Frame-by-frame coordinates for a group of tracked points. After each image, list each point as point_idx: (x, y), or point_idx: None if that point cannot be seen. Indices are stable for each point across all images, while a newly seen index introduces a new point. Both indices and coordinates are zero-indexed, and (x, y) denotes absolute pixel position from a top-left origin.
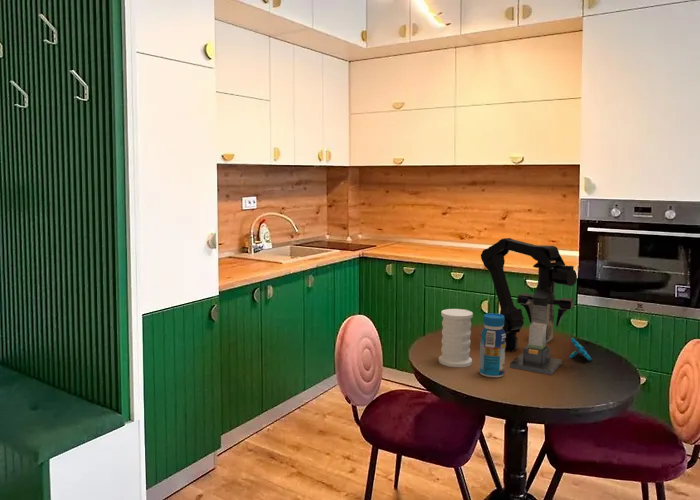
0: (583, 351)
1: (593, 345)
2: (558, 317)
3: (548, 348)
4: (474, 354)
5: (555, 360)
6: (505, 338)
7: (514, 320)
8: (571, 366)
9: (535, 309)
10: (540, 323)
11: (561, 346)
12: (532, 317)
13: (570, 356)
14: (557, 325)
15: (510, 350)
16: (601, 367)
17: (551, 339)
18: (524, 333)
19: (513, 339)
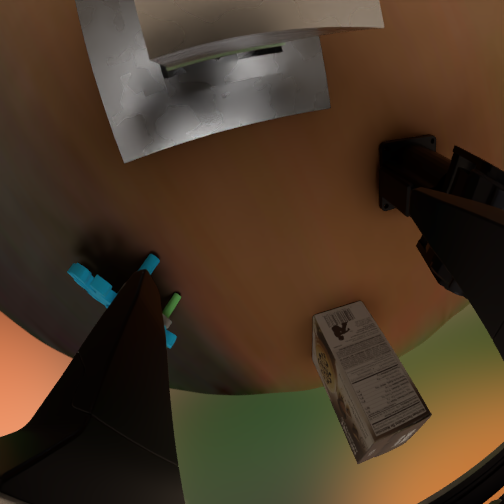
0: (87, 287)
1: (199, 390)
2: (94, 355)
3: (133, 55)
4: (454, 31)
5: (137, 125)
6: (440, 160)
7: (493, 201)
8: (79, 164)
9: (406, 399)
10: (256, 10)
11: (260, 335)
12: (438, 249)
13: (151, 259)
14: (132, 278)
15: (388, 142)
16: (23, 253)
17: (312, 353)
18: (387, 335)
19: (413, 179)
